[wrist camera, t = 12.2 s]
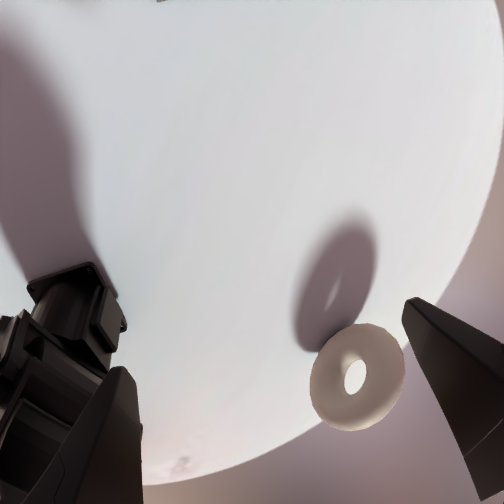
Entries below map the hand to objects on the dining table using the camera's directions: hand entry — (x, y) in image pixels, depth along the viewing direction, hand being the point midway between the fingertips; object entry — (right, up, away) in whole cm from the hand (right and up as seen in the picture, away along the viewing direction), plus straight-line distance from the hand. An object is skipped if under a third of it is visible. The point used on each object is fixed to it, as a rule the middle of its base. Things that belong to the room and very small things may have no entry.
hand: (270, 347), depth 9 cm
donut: (+7, -6, +21) cm, 22 cm away
